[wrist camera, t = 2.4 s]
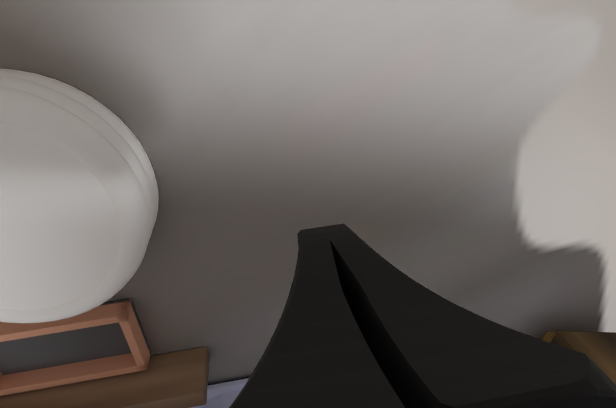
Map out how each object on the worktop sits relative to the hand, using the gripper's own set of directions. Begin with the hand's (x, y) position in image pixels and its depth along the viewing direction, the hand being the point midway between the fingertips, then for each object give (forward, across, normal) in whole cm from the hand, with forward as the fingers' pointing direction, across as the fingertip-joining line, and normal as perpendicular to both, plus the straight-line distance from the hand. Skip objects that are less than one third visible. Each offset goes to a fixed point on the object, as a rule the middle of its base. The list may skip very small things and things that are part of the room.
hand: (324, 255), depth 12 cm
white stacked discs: (+8, +11, 0) cm, 14 cm away
